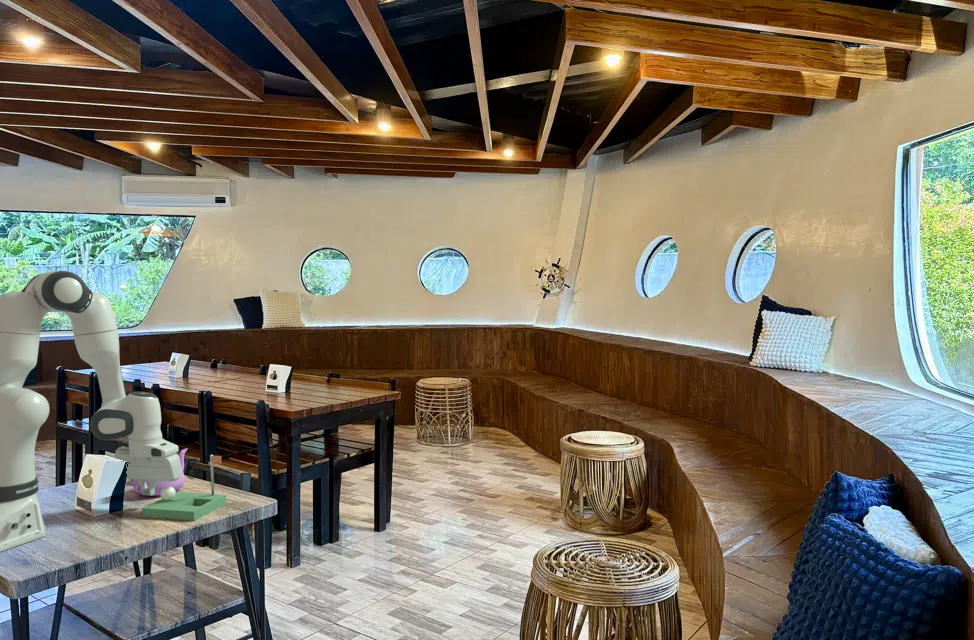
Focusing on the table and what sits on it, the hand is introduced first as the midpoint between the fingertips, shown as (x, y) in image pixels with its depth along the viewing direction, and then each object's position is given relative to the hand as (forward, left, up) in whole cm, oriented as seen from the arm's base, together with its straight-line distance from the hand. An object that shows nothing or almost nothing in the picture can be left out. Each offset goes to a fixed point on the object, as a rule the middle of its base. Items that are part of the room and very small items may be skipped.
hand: (148, 494), depth 212 cm
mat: (0, -12, -4) cm, 13 cm away
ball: (0, -7, +1) cm, 7 cm away
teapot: (+15, +7, -4) cm, 17 cm away
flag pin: (+7, -18, -1) cm, 19 cm away
